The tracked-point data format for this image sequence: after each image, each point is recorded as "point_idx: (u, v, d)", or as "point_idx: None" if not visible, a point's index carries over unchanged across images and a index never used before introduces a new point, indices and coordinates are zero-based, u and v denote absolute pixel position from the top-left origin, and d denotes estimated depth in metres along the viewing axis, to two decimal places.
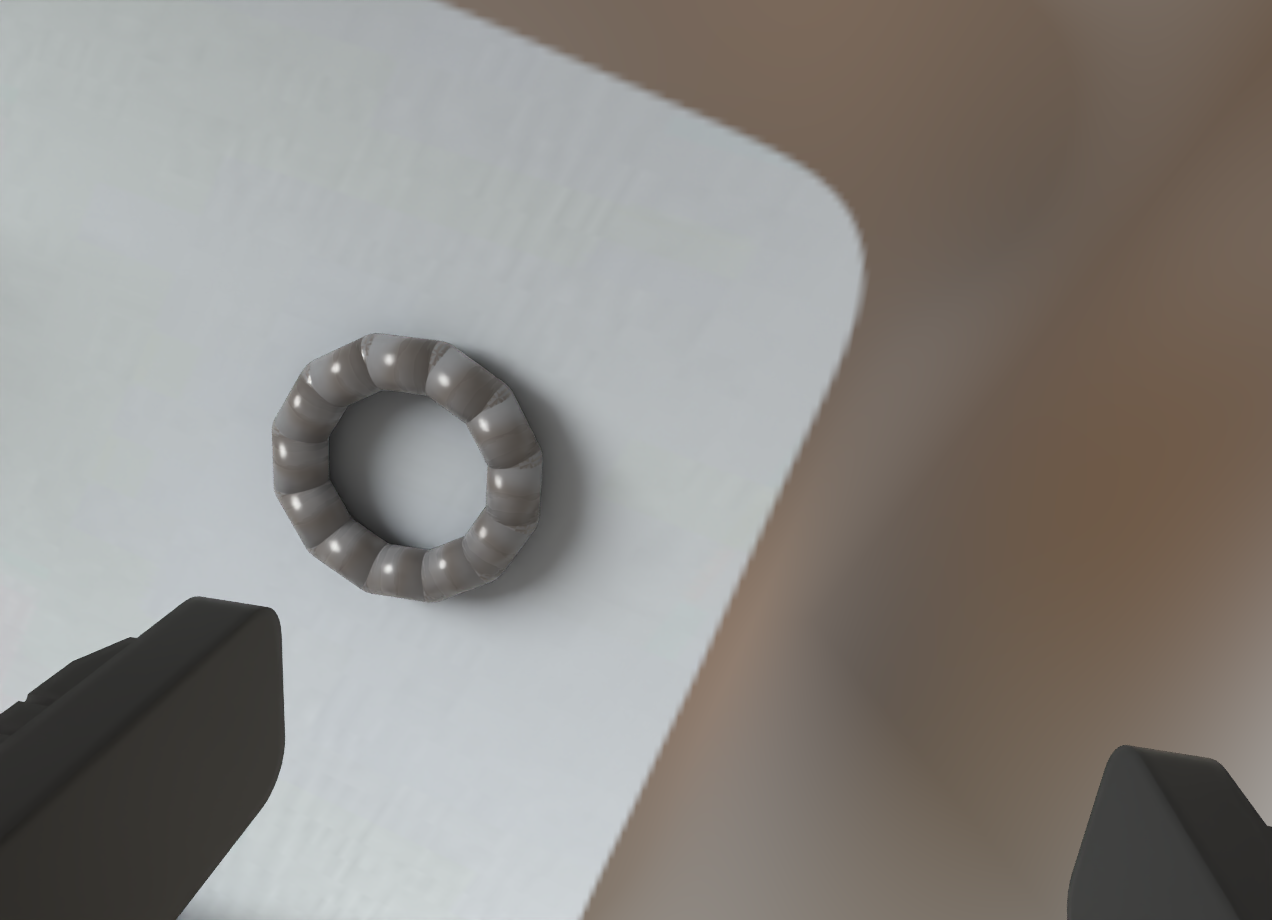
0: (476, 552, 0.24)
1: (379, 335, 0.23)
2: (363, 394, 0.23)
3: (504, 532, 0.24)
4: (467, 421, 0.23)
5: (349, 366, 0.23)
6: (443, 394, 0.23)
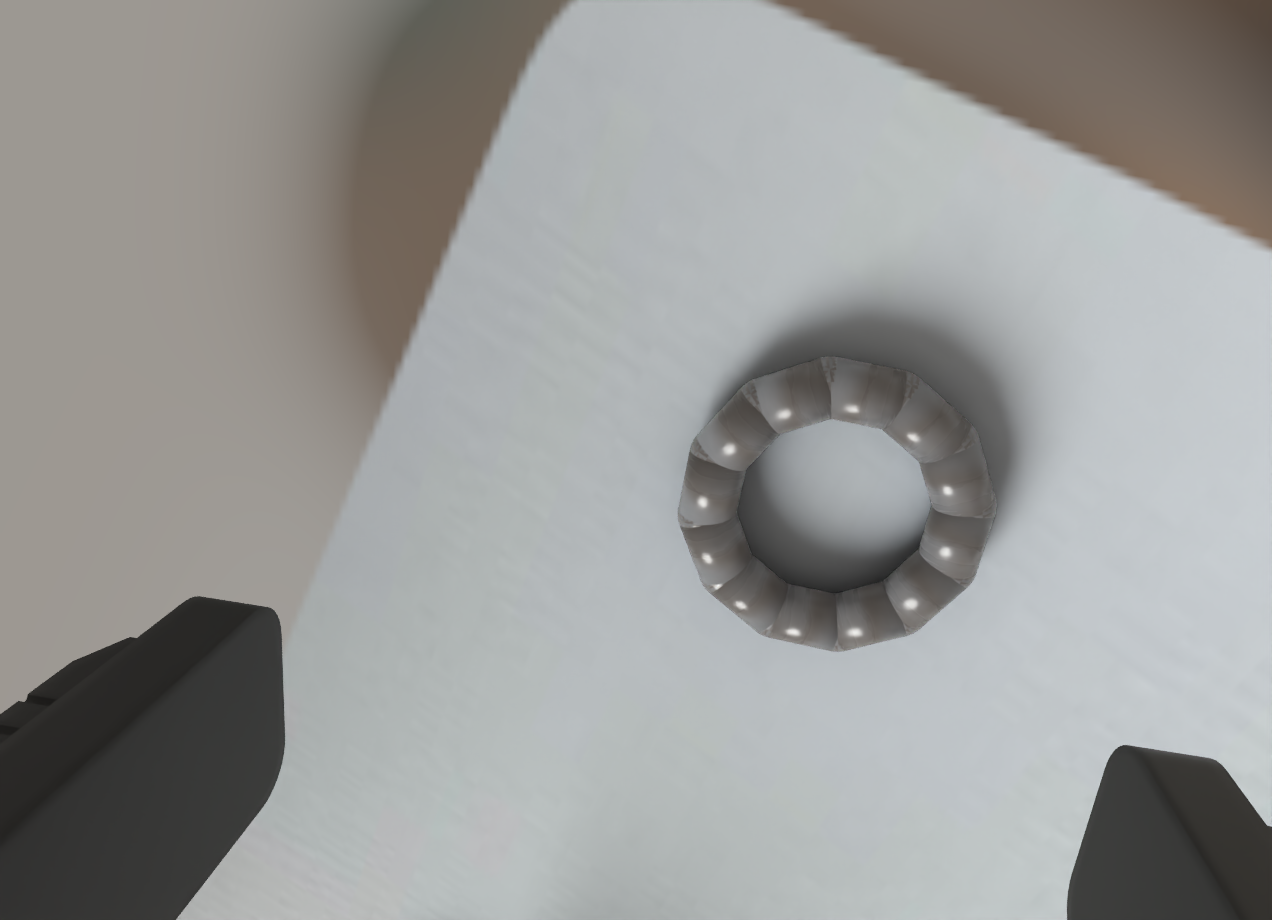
0: (932, 447, 0.21)
1: (678, 507, 0.22)
2: (736, 535, 0.22)
3: (910, 411, 0.20)
4: (774, 431, 0.21)
5: (702, 542, 0.22)
6: (740, 451, 0.21)
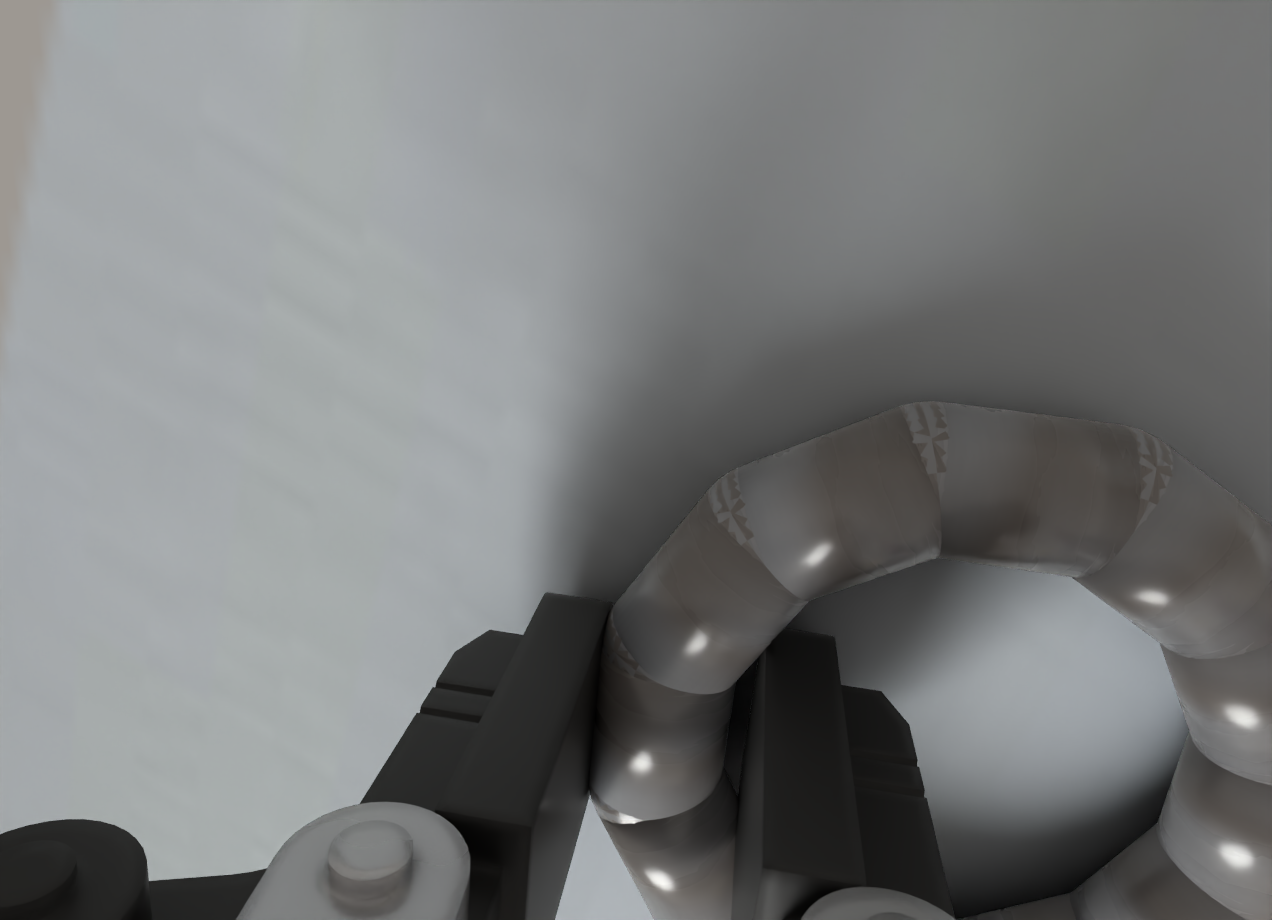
0: (1218, 624, 0.08)
1: None
2: (724, 831, 0.09)
3: (1157, 536, 0.08)
4: (796, 600, 0.08)
5: (646, 856, 0.09)
6: (715, 653, 0.09)
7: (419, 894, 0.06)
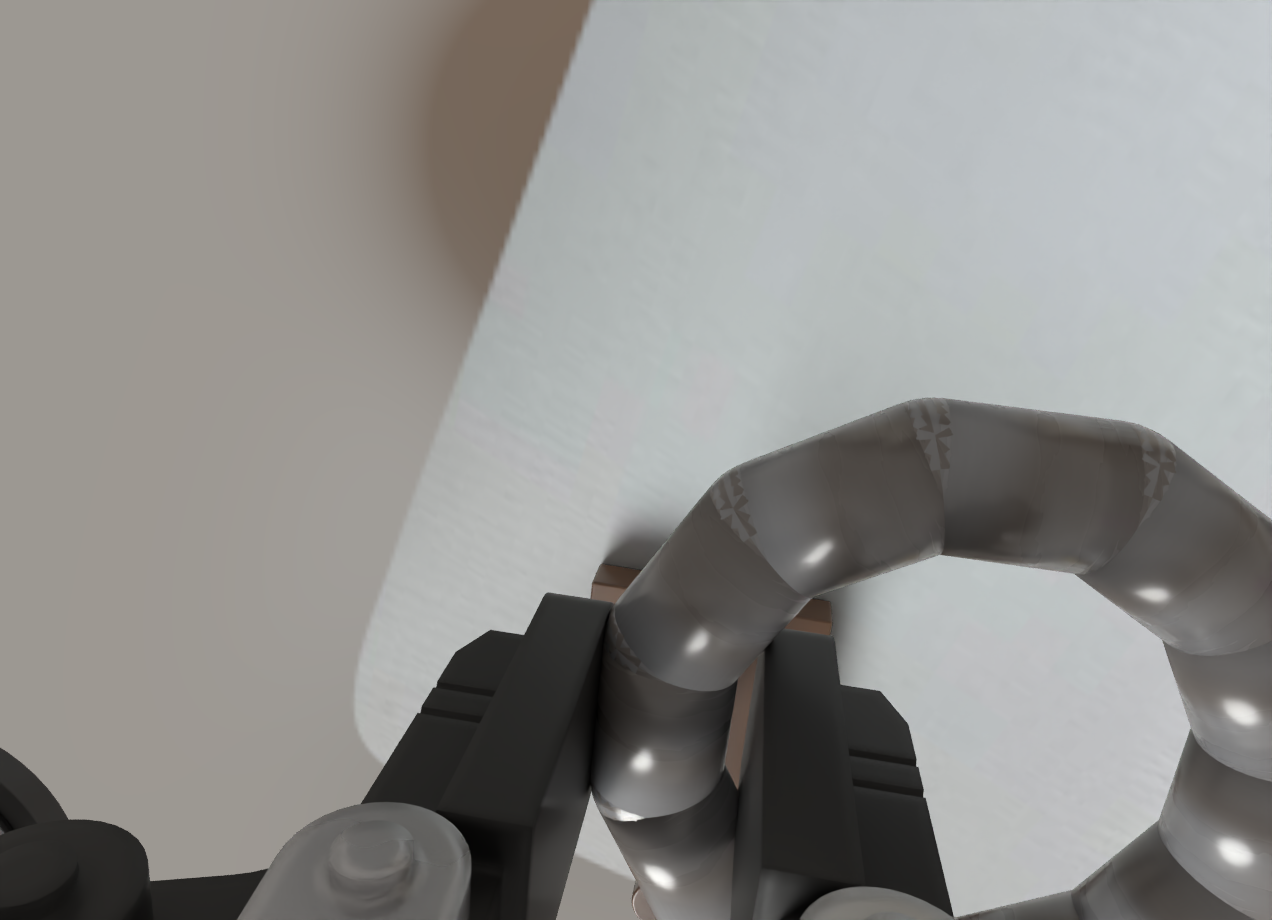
0: (1220, 622, 0.08)
1: None
2: (727, 828, 0.09)
3: (1161, 533, 0.08)
4: (799, 597, 0.08)
5: (648, 854, 0.09)
6: (718, 650, 0.09)
7: (421, 892, 0.06)
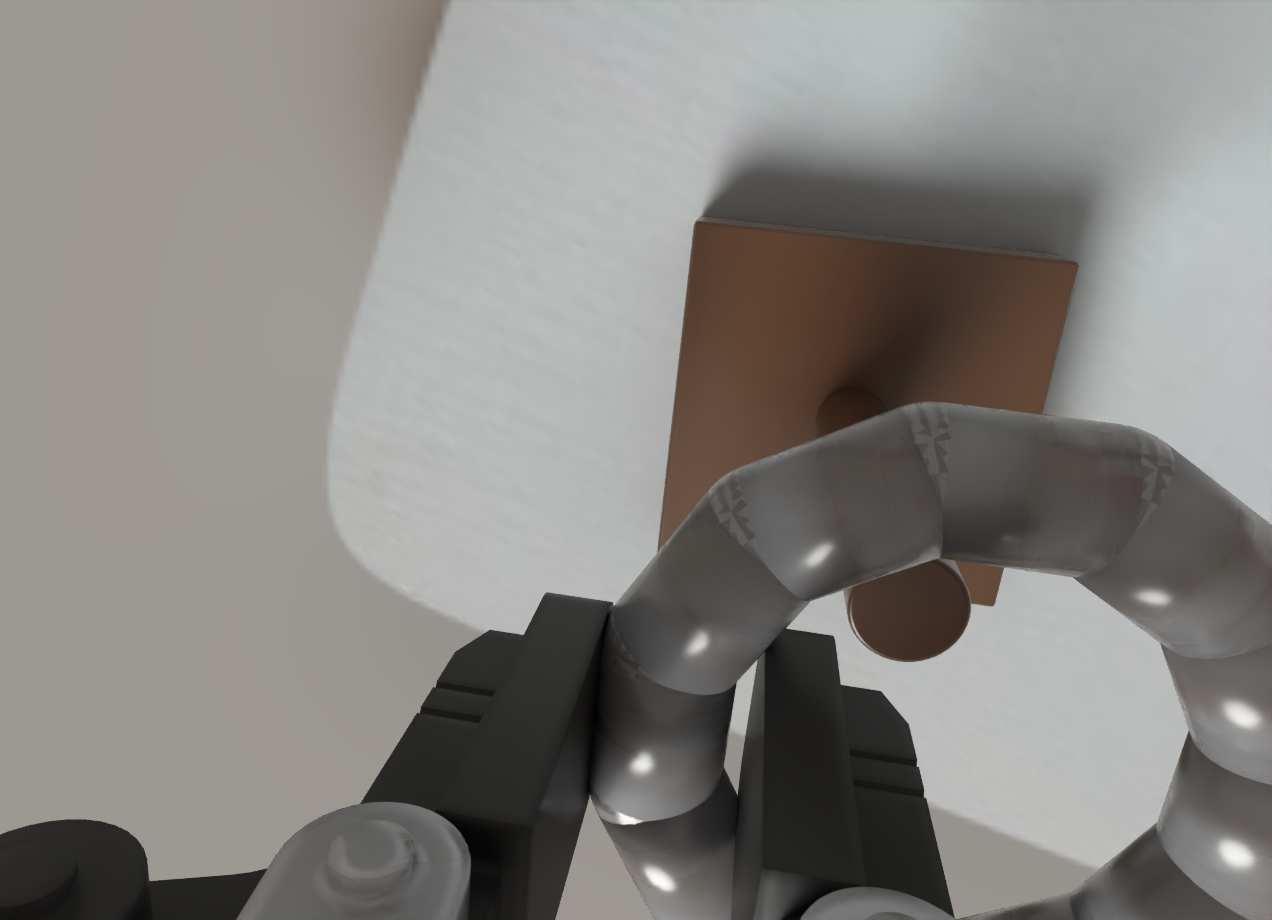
0: (1219, 625, 0.08)
1: None
2: (726, 830, 0.09)
3: (1159, 536, 0.08)
4: (797, 600, 0.08)
5: (647, 857, 0.09)
6: (717, 653, 0.09)
7: (419, 892, 0.06)
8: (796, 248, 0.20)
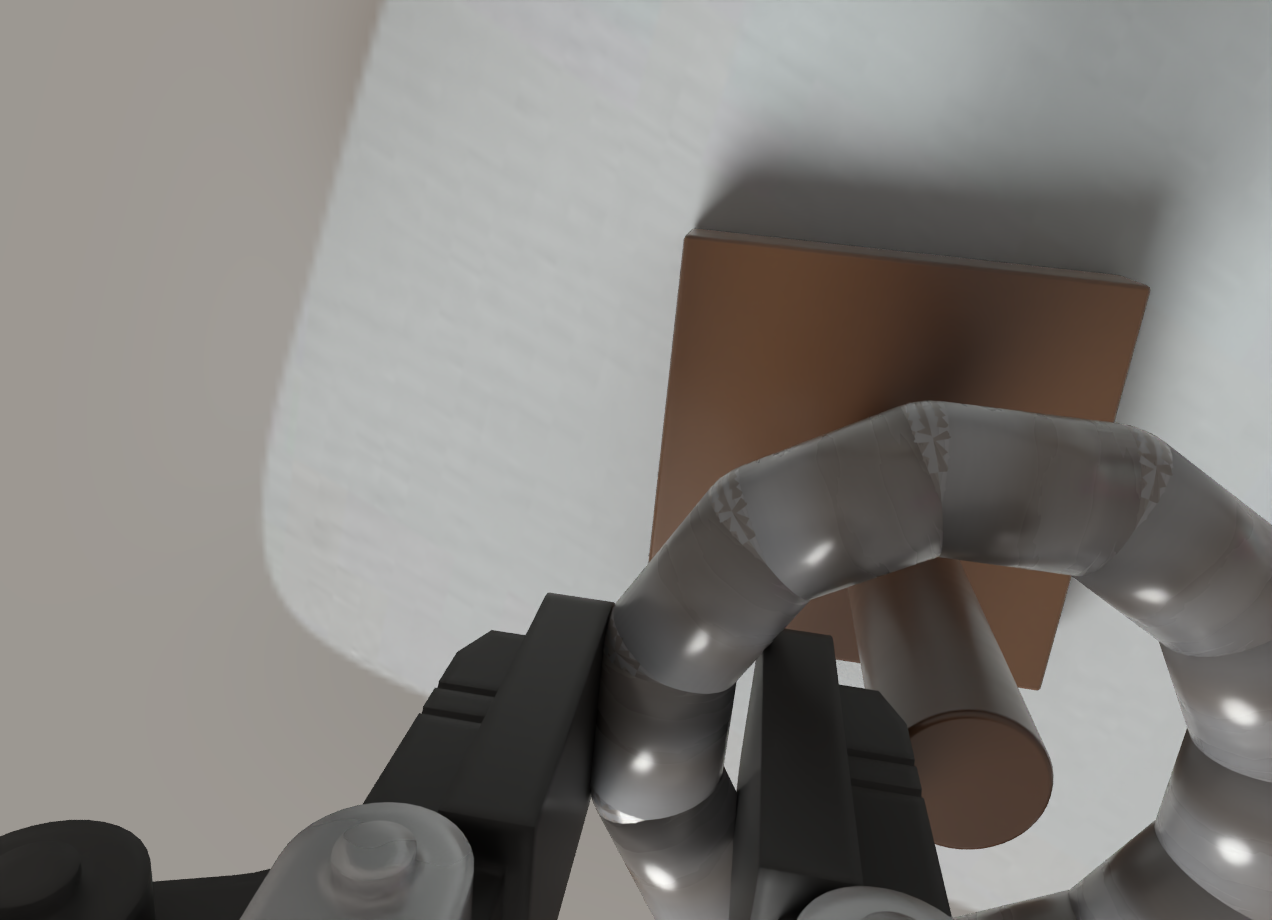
0: (1217, 622, 0.08)
1: None
2: (725, 830, 0.09)
3: (1157, 535, 0.08)
4: (797, 599, 0.08)
5: (647, 856, 0.09)
6: (717, 653, 0.09)
7: (422, 893, 0.06)
8: (807, 268, 0.16)
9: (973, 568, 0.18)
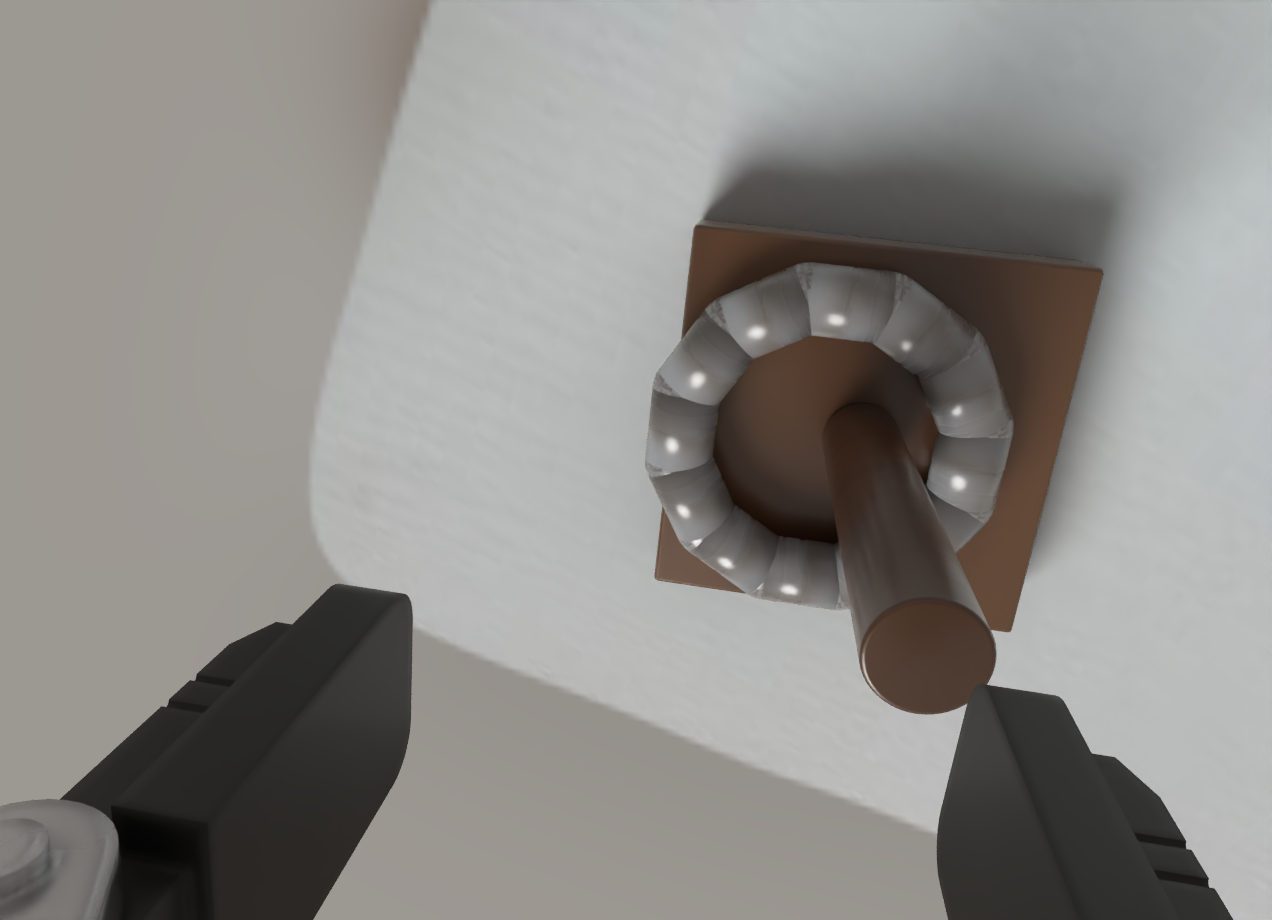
0: (932, 358, 0.18)
1: None
2: (713, 482, 0.19)
3: (902, 316, 0.17)
4: (746, 355, 0.18)
5: (675, 493, 0.19)
6: (709, 381, 0.18)
7: (62, 878, 0.05)
8: (802, 254, 0.19)
9: None
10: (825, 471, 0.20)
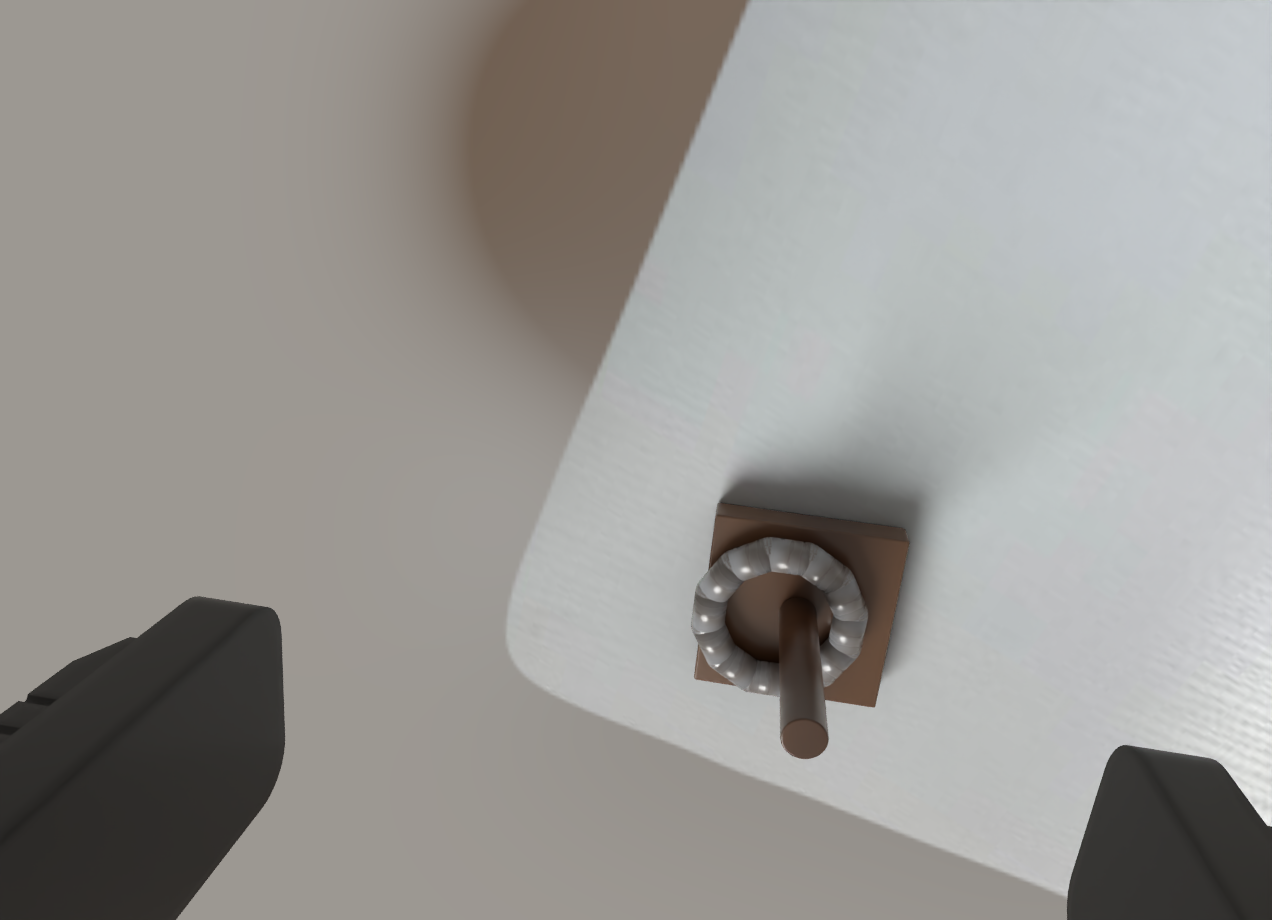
0: (827, 585, 0.38)
1: (691, 622, 0.40)
2: (725, 636, 0.39)
3: (813, 567, 0.37)
4: (740, 580, 0.38)
5: (706, 642, 0.39)
6: (723, 592, 0.38)
7: None
8: (767, 529, 0.39)
9: None
10: None
